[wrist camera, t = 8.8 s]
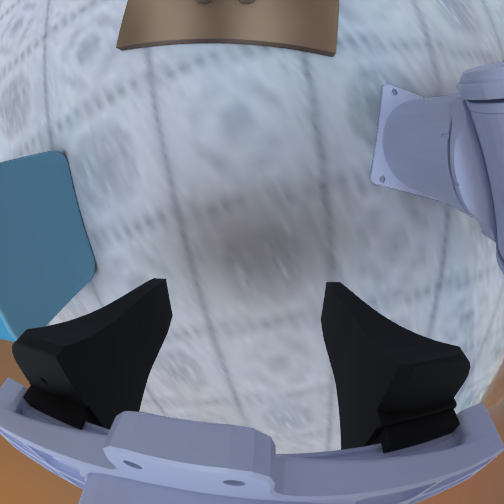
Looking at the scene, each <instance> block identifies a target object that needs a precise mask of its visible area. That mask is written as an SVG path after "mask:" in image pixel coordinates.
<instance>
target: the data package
mask: <svg viewBox="0 0 504 504" xmlns="http://www.w3.org/2000/svg"><path fill="white" fill-rule="evenodd" d="M94 272H95V260H94V256H93V253H92V250H91V247H90V244H89V241H88V238H87V235H86V232H85V229H84V225H83V222H82V219H81V215H80V211H79V208H78V204H77V200H76V196H75V192H74V188H73V184H72V179H71V175H70V170H69V165H68V162H67V160H66V158H65V156H64V155H63V154H62V153H61V152H59V151H49V152H44V153H39V154H34V155H30V156H25V157H21V158H17V159H13V160H9V161H5V162H1V163H0V339H3V340H8V341H13V342H15V341H16V340H17V339H18V338H19V337H20V336H21V335H22V334H23V332H24V331H25V330H27V329H31V328H38V327H45V326H47V325H48V323H49V322H50V321H51V320H52V319H53V318H54V317H55V316H56V315H57V314H58V313H59V312H60V311H61V309H62V308H63V307H64V306H65V305H66V304H67V303H68V302H69V301H70V300H71V299H72V298H73V297H74V296H75V295H76V294H77V293H78V292H79V291H80V290H81V289H82V288H83V287H84V286H85V285H86V284H87V283H88V282H89V281H90V280H91V279H92V278H93V275H94Z"/></svg>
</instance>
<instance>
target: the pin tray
mask: <svg viewBox="0 0 504 504" xmlns="http://www.w3.org/2000/svg"><path fill="white" fill-rule="evenodd" d="M338 14H339V0H128V2H127V6H126V9H125V13H124V16H123V20H122V24H121V28H120V32H119V37H118V41H117V46H116V48H118V49H120V50H128V49H134V48H141V47H149V46H158V45H170V44H186V43H236V44H252V45H263V46H273V47H281V48H288V49H295V50H301V51H307V52H312V53H317V54H322V55H327V56H331V57H333V56H334V55H335V53H336V45H337V31H338Z"/></svg>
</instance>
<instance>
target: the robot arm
mask: <svg viewBox="0 0 504 504" xmlns="http://www.w3.org/2000/svg"><path fill="white" fill-rule="evenodd" d="M392 89H394V90H395V91H396V95H393V94H392ZM457 89H458V91H459V93H460V94H453V95H445V96H438V97H431V98H424V97H421V96H419V95H416V94H414V93H411V92H409V91H406V90H404V89H401V88H398V87H395V86H393V85H390V84H385V85H383V86H382V92H381V103H380V112H379V120H378V128H377V135H376V142H375V149H374V155H373V161H372V167H371V173H370V181H371V182H372V183H373V184H376V185H380V186H385V187H389V188H393V189H397V190H401V191H405V192H409V193H413V194H416V195H420V196H424V197H427V198H431V199H434V200H438V201H441V202H444V203H446V204H448V205H450V206H452V207H454V208H456V209H458V210H460V211H462V212H464V213H465V214H467V215H469V216H471V217H473V218H475V219H476V220H477V221H478V222H479V224H480V226H481V228H482V233H483V234H484V235H485V236H487V237H489V238H490V239H492V240H493V241H495V242H496V257H497V262H498V265H499V267H500V269H501V271H502V273H503V274H504V61H502V62H497V63H492V64H488V65H484V66H480V67H476V68H473V69H470V70H467V71H464V72H463V73H462V76H461V79H460V82H459V83H458V84H457ZM381 176H384V181H383V182H380V181H379V178H380V177H381ZM171 319H172V310H171V305H170V300H169V294H168V288H167V283H166V279H156V278H154V279H152V280H149V281H148V282H146V283H144V284H142V285H141V286H139V287H137V288H136V289H134V290H132V291H131V292H129V293H128V294H126V295H124V296H123V297H121V298H119V299H117V300H115V301H114V302H112V303H110V304H108V305H107V306H105V307H103V308H101V309H98V310H96V311H94V312H92V313H89V314H87V315H84V316H81V317H79V318H76V319H73V320H70V321H67V322H63V323H59V324H55V325H51V326H45V327H38V328H31V329H27V330H25V331H24V332H23V334H22V335H21V336H20V337H19V338H18V339H17V340H16V341H15V342H14V344H13V346H12V352H13V355H14V358H15V360H16V362H17V364H18V365H19V367H20V369H21V370H22V372H23V373H24V375H25V376H26V378H27V380H28V381H29V382H30V384H31V386H30V387H29V389H27V388H26V387H25V386H23V385H22V384H20V383H18V382H16V381H14V380H13V379H11V378H8V379H7V380H6V381H5V382H4V384H3V385H2V387H1V388H0V434H1V435H2V436H4V437H5V439H7V440H8V441H9V442H10V443H11V444H12V445H13V446H14V447H15V448H17V449H18V450H19V451H21V452H22V453H24V454H25V455H26V456H28V457H29V458H31V459H32V460H34V461H35V462H37V463H38V464H40V465H42V466H43V467H45V468H46V469H48V470H50V471H51V472H53V473H55V474H56V475H58V476H60V477H62V478H63V479H65V480H67V481H69V482H70V483H72V484H74V485H76V486H78V487H80V488H82V489H83V492H82V495H81V498H80V500H79V503H78V504H414V503H416V502H419V501H422V500H424V499H427V498H429V497H431V496H434V495H436V494H438V493H440V492H442V491H444V490H447V489H449V488H451V487H453V486H455V485H457V484H459V483H461V482H463V481H465V480H467V479H468V478H470V477H471V476H473V475H474V474H475V473H476V472H478V471H479V470H480V469H482V468H483V467H484V466H485V465H487V464H488V463H489V462H490V461H492V460H493V459H494V458H495V457H496V456H497V455H499V454H500V453H501V452H502V451H503V450H504V445H503V443H502V441H501V438H500V436H499V434H498V432H497V430H496V428H495V425H494V423H493V421H492V419H491V417H490V416H489V414H488V412H487V410H486V408H485V406H484V404H483V403H479V404H477V405H474V406H472V407H469V408H467V409H464V410H462V411H461V412H459V413H458V414H457V415H456V413H455V411H454V408H455V407H456V404H457V403H456V401H455V399H454V396H455V395H456V394H457V392H458V391H459V389H460V388H461V386H462V385H463V383H464V382H465V380H466V378H467V376H468V374H469V370H470V362H469V361H468V359H467V357H466V356H465V354H464V353H463V351H462V350H461V348H460V347H458V346H454V345H450V344H446V343H442V342H438V341H435V340H432V339H429V338H426V337H423V336H421V335H418V334H416V333H414V332H412V331H409V330H407V329H405V328H403V327H401V326H399V325H397V324H396V323H394V322H392V321H391V320H389V319H387V318H386V317H384V316H383V315H381V314H380V313H378V312H377V311H375V310H374V309H373V308H371V307H370V306H369V305H367V304H366V303H365V302H364V301H362V300H361V299H360V298H359V297H357V296H356V295H355V294H354V293H353V292H351V291H350V290H349V289H348V288H347V287H345V286H344V285H343V284H342V283H340V282H326V290H325V297H324V303H323V310H322V316H321V324H322V331H323V338H324V341H325V345H326V349H327V352H328V356H329V359H330V363H331V366H332V370H333V374H334V378H335V382H336V389H337V396H338V405H339V415H340V429H341V450H336V451H327V452H316V453H300V454H275V444H274V442H273V440H272V438H271V437H270V436H268V435H267V434H264V433H262V432H260V431H258V430H256V429H254V428H249V427H243V426H237V425H230V424H218V423H207V422H199V421H191V420H184V419H177V418H171V417H165V416H160V415H154V414H149V413H145V412H139V410H140V405H141V401H142V397H143V393H144V390H145V386H146V383H147V379H148V376H149V373H150V371H151V368H152V366H153V364H154V361H155V359H156V357H157V355H158V353H159V350H160V348H161V346H162V344H163V342H164V339H165V337H166V335H167V333H168V329H169V326H170V323H171Z"/></svg>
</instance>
